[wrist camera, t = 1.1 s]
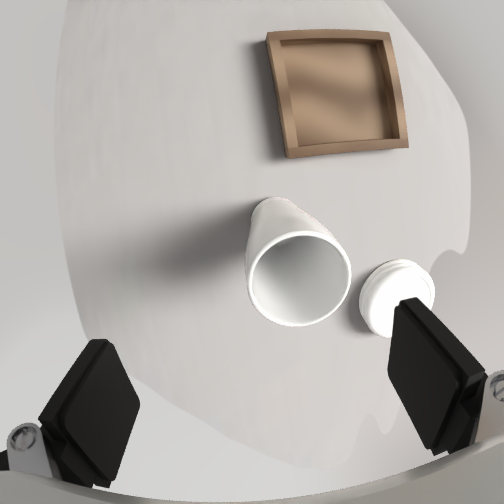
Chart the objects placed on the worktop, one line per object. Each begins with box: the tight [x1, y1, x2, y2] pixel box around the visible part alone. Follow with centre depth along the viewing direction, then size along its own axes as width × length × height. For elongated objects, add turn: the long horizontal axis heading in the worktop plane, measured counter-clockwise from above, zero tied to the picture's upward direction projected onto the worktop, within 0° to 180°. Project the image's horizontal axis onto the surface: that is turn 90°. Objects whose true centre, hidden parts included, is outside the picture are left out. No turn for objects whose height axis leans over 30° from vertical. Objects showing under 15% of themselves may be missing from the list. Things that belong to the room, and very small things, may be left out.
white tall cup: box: [245, 197, 351, 327], centre depth 26 cm, size 7×7×15 cm
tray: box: [266, 29, 409, 159], centre depth 27 cm, size 13×13×2 cm
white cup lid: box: [359, 259, 435, 338], centre depth 35 cm, size 10×10×4 cm
